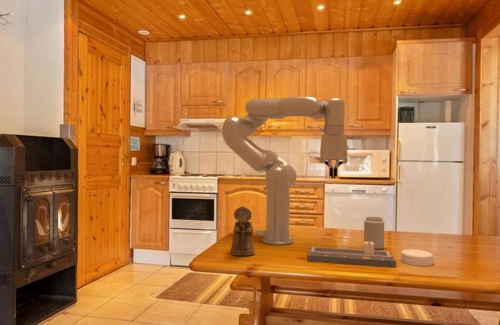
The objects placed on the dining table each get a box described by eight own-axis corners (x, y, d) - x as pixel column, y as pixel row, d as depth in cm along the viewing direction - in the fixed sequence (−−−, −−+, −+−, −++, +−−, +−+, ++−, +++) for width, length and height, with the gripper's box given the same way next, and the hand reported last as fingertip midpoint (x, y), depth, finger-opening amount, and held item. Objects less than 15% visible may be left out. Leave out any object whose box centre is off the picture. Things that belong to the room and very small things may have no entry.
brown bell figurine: (227, 259, 127) (228, 206, 127) (231, 250, 141) (232, 201, 140) (254, 260, 127) (255, 206, 127) (255, 250, 140) (256, 202, 140)
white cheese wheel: (406, 257, 135) (406, 247, 135) (436, 262, 129) (436, 252, 129) (396, 263, 127) (396, 252, 127) (428, 268, 121) (428, 257, 121)
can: (385, 250, 144) (385, 219, 144) (364, 249, 145) (365, 218, 145) (382, 246, 151) (382, 216, 151) (362, 245, 153) (363, 215, 153)
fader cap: (364, 255, 127) (364, 242, 127) (363, 253, 131) (363, 240, 131) (374, 256, 126) (374, 243, 126) (372, 253, 130) (372, 240, 130)
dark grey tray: (307, 261, 127) (307, 252, 127) (309, 252, 139) (309, 245, 139) (396, 267, 121) (396, 258, 121) (390, 258, 133) (390, 250, 133)
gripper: (314, 130, 144) (313, 178, 144) (354, 130, 141) (353, 179, 141) (314, 131, 152) (314, 177, 152) (353, 131, 148) (352, 178, 149)
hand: (333, 178), depth 146 cm, fingers closed
